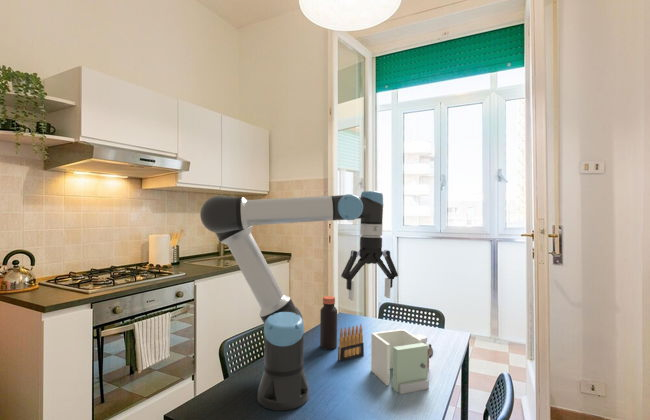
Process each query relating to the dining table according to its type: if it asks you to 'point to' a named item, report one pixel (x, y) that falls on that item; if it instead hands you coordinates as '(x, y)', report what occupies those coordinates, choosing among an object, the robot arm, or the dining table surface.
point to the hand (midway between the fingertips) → (369, 298)
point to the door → (409, 364)
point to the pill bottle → (424, 340)
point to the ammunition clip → (351, 344)
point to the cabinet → (384, 357)
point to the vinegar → (328, 324)
